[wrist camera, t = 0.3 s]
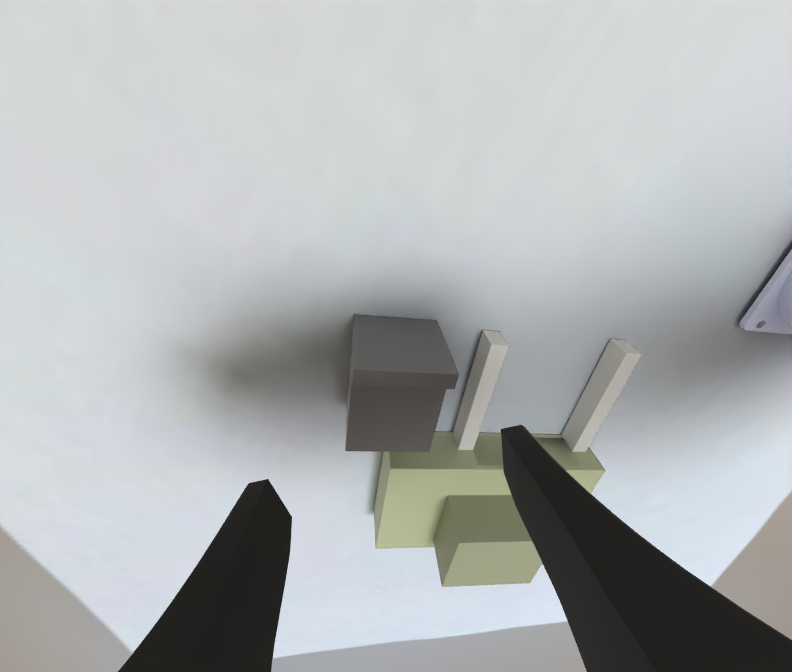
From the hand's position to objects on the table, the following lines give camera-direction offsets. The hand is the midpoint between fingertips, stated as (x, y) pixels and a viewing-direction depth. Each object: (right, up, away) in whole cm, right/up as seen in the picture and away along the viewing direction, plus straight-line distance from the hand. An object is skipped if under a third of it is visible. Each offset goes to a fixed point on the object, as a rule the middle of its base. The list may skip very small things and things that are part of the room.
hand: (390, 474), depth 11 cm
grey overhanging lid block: (0, +3, +10) cm, 10 cm away
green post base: (+6, -3, +13) cm, 15 cm away
